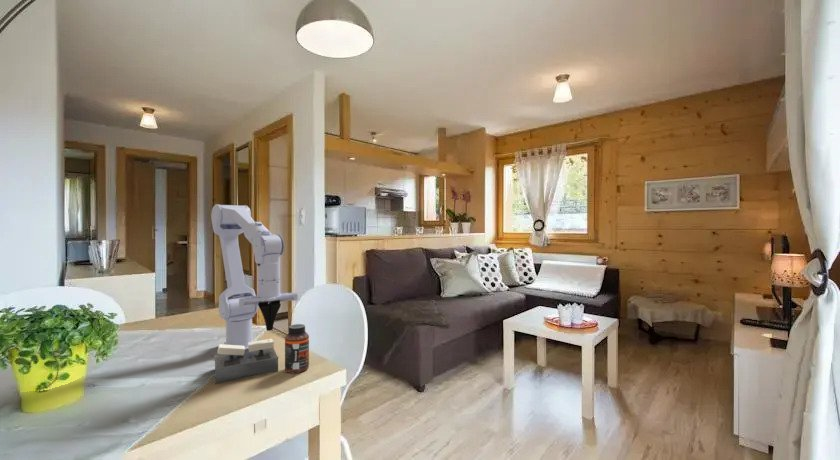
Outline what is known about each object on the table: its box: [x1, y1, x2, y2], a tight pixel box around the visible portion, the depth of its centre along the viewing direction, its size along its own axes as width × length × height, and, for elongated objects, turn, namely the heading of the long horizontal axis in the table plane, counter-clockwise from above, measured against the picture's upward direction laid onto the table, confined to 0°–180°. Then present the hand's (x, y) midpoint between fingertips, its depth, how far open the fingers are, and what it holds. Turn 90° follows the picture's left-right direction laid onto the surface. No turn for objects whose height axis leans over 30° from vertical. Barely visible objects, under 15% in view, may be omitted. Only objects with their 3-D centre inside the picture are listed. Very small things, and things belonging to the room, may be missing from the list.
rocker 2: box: [247, 338, 275, 352], centre depth 95 cm, size 3×6×2 cm, turn 120°
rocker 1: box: [217, 343, 246, 355], centre depth 92 cm, size 3×6×2 cm, turn 120°
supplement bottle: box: [284, 323, 310, 374], centre depth 92 cm, size 6×6×11 cm
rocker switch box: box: [214, 348, 279, 385], centre depth 92 cm, size 10×14×4 cm
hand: (269, 329), depth 96 cm, fingers closed
